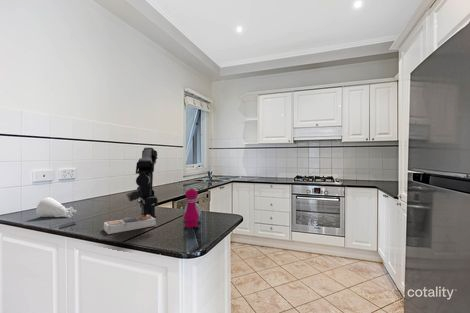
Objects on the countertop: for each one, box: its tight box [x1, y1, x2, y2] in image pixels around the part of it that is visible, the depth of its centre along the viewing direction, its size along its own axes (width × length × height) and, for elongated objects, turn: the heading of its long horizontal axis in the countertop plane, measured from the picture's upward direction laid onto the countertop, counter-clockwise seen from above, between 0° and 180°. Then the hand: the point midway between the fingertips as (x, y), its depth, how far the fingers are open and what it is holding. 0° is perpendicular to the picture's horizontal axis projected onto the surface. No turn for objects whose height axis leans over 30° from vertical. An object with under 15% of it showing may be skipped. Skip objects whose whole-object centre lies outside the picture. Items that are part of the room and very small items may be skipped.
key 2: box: [138, 214, 151, 221], centre depth 121 cm, size 5×5×2 cm
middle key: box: [123, 216, 137, 223], centre depth 116 cm, size 5×5×2 cm
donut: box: [183, 202, 202, 217], centre depth 130 cm, size 10×4×10 cm, turn 68°
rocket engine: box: [35, 196, 78, 219], centre depth 138 cm, size 12×12×18 cm
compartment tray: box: [103, 216, 157, 235], centre depth 116 cm, size 21×9×3 cm, turn 129°
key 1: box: [108, 220, 121, 226], centre depth 112 cm, size 5×5×2 cm
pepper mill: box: [183, 185, 200, 229], centre depth 118 cm, size 7×7×20 cm
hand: (145, 215), depth 121 cm, fingers closed
